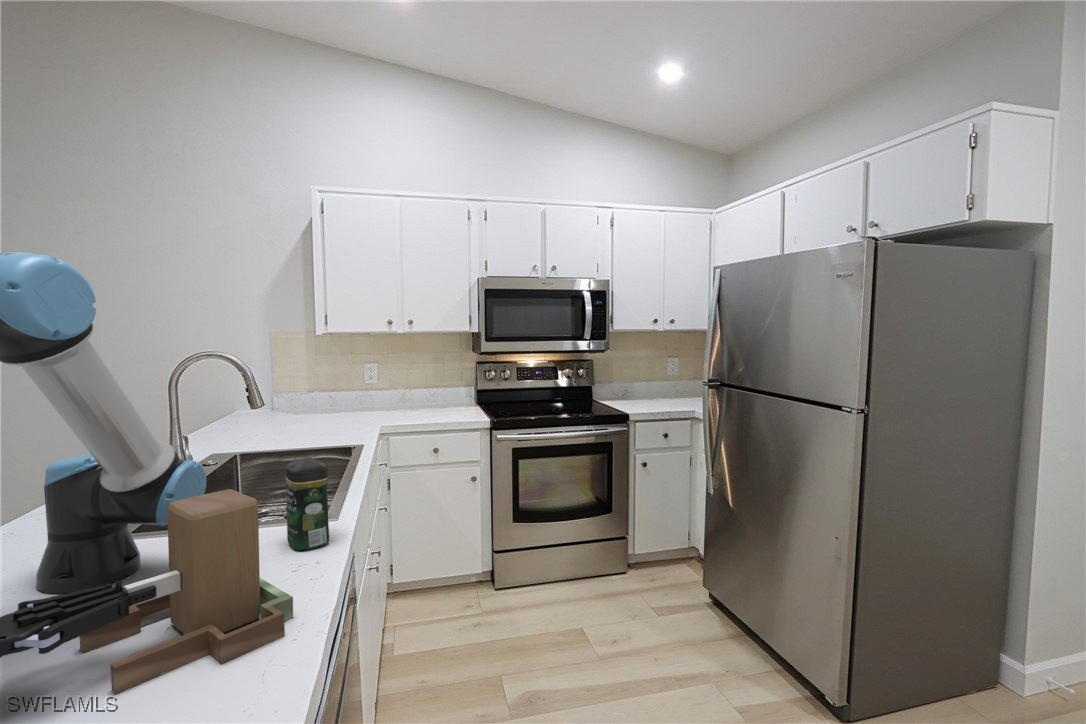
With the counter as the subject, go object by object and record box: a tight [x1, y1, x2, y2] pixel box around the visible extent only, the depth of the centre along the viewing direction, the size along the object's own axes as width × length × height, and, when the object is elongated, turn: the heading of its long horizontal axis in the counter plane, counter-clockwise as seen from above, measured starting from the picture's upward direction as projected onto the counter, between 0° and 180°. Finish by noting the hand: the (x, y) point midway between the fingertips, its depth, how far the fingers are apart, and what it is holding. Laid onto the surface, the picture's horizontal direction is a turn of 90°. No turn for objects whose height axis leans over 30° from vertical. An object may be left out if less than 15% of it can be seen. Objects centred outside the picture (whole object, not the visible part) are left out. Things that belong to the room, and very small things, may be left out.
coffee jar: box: [285, 457, 330, 551], centre depth 118 cm, size 10×8×19 cm
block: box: [167, 488, 261, 635], centre depth 86 cm, size 10×10×20 cm
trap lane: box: [79, 577, 294, 695], centre depth 83 cm, size 24×24×4 cm
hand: (178, 580), depth 81 cm, fingers closed
